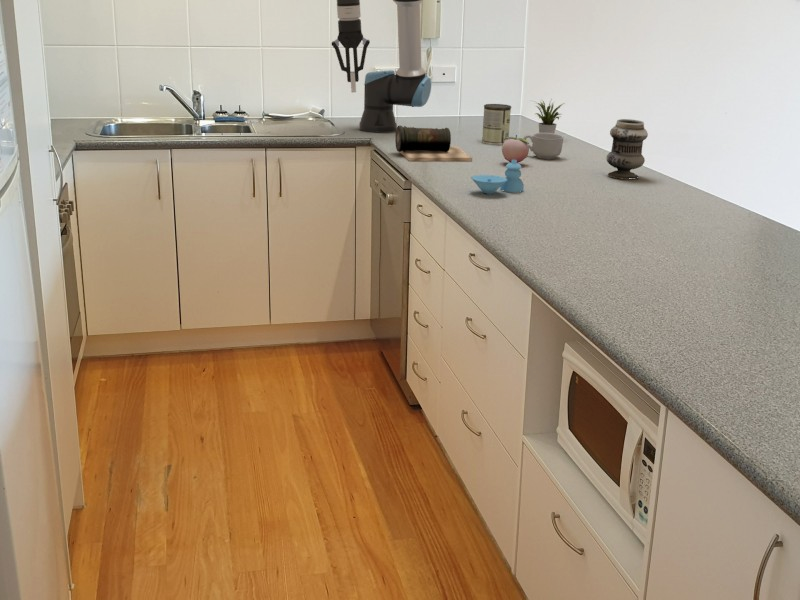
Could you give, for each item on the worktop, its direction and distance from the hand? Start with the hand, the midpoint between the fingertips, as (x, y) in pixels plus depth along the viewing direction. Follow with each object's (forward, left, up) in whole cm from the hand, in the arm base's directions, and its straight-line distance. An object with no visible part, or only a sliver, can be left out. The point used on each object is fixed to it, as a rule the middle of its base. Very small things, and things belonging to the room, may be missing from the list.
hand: (353, 91), depth 307 cm
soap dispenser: (+67, -11, -22) cm, 72 cm away
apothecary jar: (+82, +40, -21) cm, 94 cm away
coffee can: (+18, +61, -22) cm, 67 cm away
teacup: (+46, +49, -22) cm, 71 cm away
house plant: (+26, +83, -21) cm, 90 cm away
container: (+10, +11, -16) cm, 22 cm away
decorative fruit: (+47, +29, -21) cm, 60 cm away
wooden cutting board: (+19, +21, -21) cm, 36 cm away
